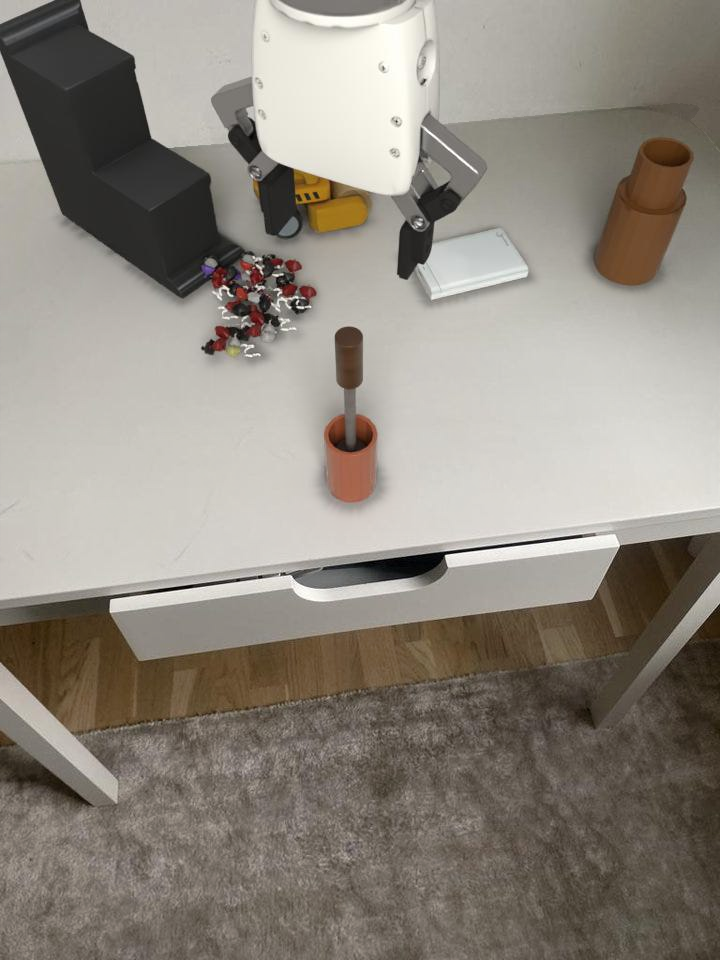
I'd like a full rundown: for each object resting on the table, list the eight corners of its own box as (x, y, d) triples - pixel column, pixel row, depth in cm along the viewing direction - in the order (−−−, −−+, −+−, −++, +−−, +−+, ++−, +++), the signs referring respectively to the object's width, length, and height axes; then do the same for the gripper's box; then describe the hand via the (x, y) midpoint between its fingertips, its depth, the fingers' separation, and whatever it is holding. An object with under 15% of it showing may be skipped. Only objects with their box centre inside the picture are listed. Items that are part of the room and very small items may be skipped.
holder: (385, 487, 75) (387, 439, 69) (344, 511, 74) (343, 464, 67) (358, 454, 78) (357, 405, 71) (318, 476, 76) (314, 428, 69)
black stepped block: (247, 255, 94) (217, 64, 74) (181, 301, 90) (130, 111, 70) (127, 178, 103) (71, -12, 83) (61, 217, 98) (-14, 26, 79)
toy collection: (179, 273, 91) (175, 244, 86) (296, 256, 94) (298, 227, 90) (206, 375, 84) (203, 349, 80) (330, 352, 88) (333, 327, 84)
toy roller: (375, 228, 97) (376, 154, 88) (263, 245, 95) (253, 170, 86) (360, 186, 102) (360, 111, 93) (253, 201, 100) (243, 126, 91)
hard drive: (501, 225, 95) (407, 246, 93) (529, 268, 90) (432, 291, 88) (499, 236, 96) (406, 257, 94) (527, 279, 92) (430, 301, 90)
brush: (372, 482, 75) (375, 340, 58) (347, 497, 74) (343, 356, 57) (355, 462, 76) (354, 316, 60) (330, 476, 75) (321, 332, 59)
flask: (670, 269, 93) (719, 158, 80) (625, 294, 90) (668, 183, 78) (625, 235, 96) (665, 123, 84) (581, 258, 94) (615, 147, 81)
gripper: (537, -37, 37) (485, 248, 51) (227, -105, 41) (260, 177, 55) (483, 35, 33) (443, 321, 47) (147, -47, 37) (204, 240, 51)
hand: (345, 244), depth 51 cm, fingers open, 9 cm apart
